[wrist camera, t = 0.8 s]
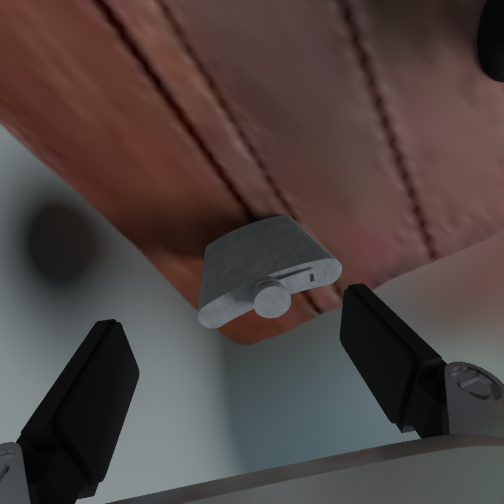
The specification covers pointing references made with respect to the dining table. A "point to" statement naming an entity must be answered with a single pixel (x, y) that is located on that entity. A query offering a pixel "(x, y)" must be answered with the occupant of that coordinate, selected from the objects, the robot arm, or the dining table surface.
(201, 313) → the hip flask
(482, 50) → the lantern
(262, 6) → the dining table surface
